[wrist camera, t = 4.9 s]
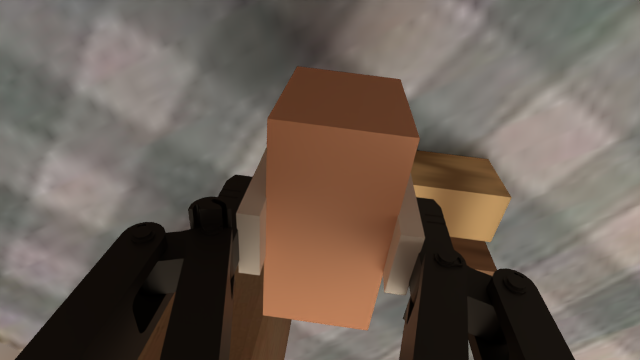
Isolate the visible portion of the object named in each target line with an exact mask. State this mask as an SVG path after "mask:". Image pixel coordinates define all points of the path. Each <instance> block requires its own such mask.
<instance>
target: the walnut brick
mask: <svg viewBox="0 0 640 360" xmlns="http://www.w3.org/2000/svg"><path fill="white" fill-rule="evenodd" d="M450 238H451V241H452V245H453V248H454V250H455V251H457V252H458V253H460V254H461V255H462V257H463V258H464V259H465V261H466V265H467V266H469V267H471V268H473V269H475V270H477V271H480V272H483V273H486V274H488V275H491V276H493V274H494V272H495V271H497V269H496V266H495V264H494V262H493V259H492V257H491V255H490V252H489V250H488V248H487V245H486V243H485V241H479V240H472V239H464V238H457V237H450Z"/></svg>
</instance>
